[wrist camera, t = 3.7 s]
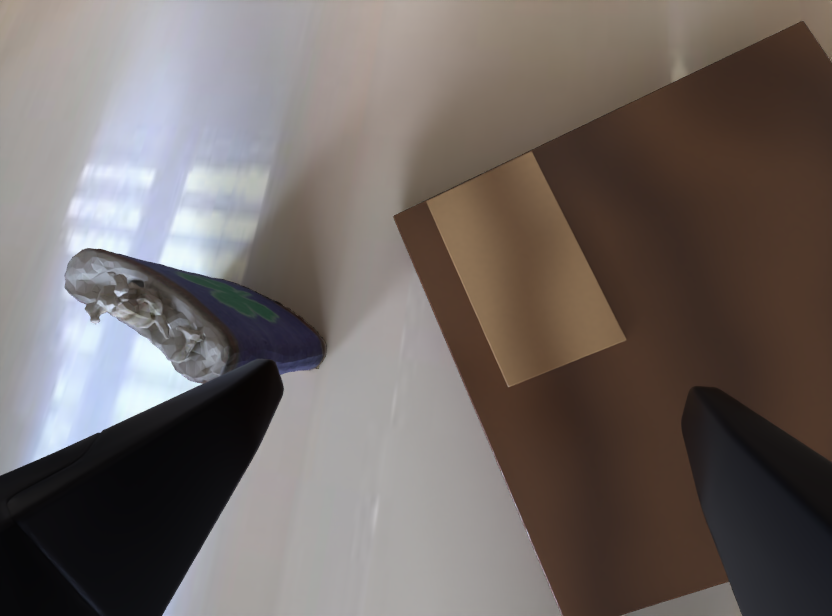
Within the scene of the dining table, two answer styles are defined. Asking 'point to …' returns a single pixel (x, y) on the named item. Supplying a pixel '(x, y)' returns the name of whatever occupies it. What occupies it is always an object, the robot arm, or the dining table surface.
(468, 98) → the dining table surface
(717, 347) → the serving board
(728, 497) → the robot arm
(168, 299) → the flask
